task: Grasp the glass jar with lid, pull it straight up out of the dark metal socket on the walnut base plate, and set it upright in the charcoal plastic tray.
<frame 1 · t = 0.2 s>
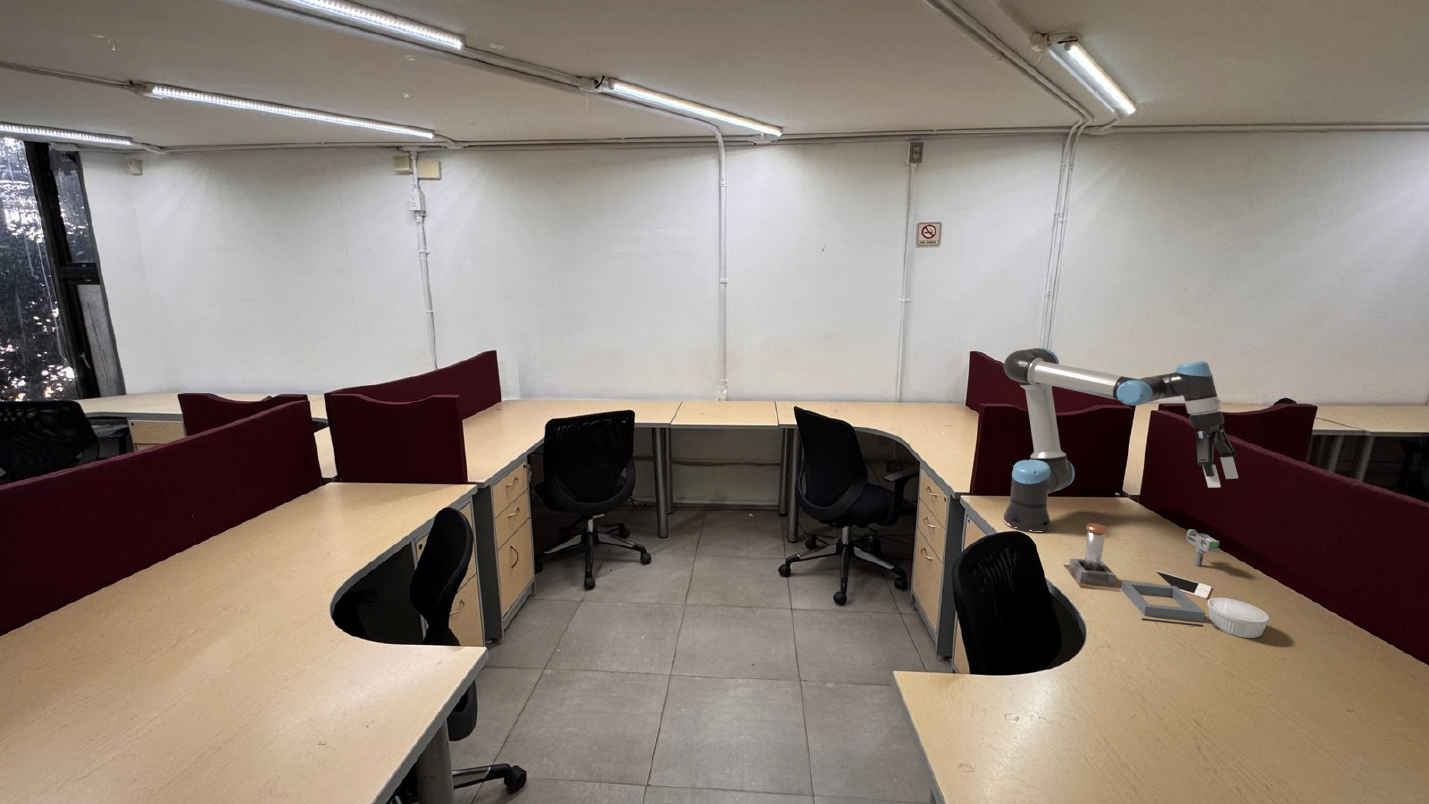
hand: (1223, 482, 160), 28 cm above the table, tool tilted 20°, fingers open, 13 cm apart
mechanical component: (1198, 566, 168), on the table
glass jar with lid: (1090, 577, 159), point 1 cm above the table, touching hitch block
ramekin: (1234, 628, 137), on the table
tray: (1159, 609, 145), on the table
cell phone: (1168, 583, 159), on the table
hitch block: (1090, 582, 160), on the table
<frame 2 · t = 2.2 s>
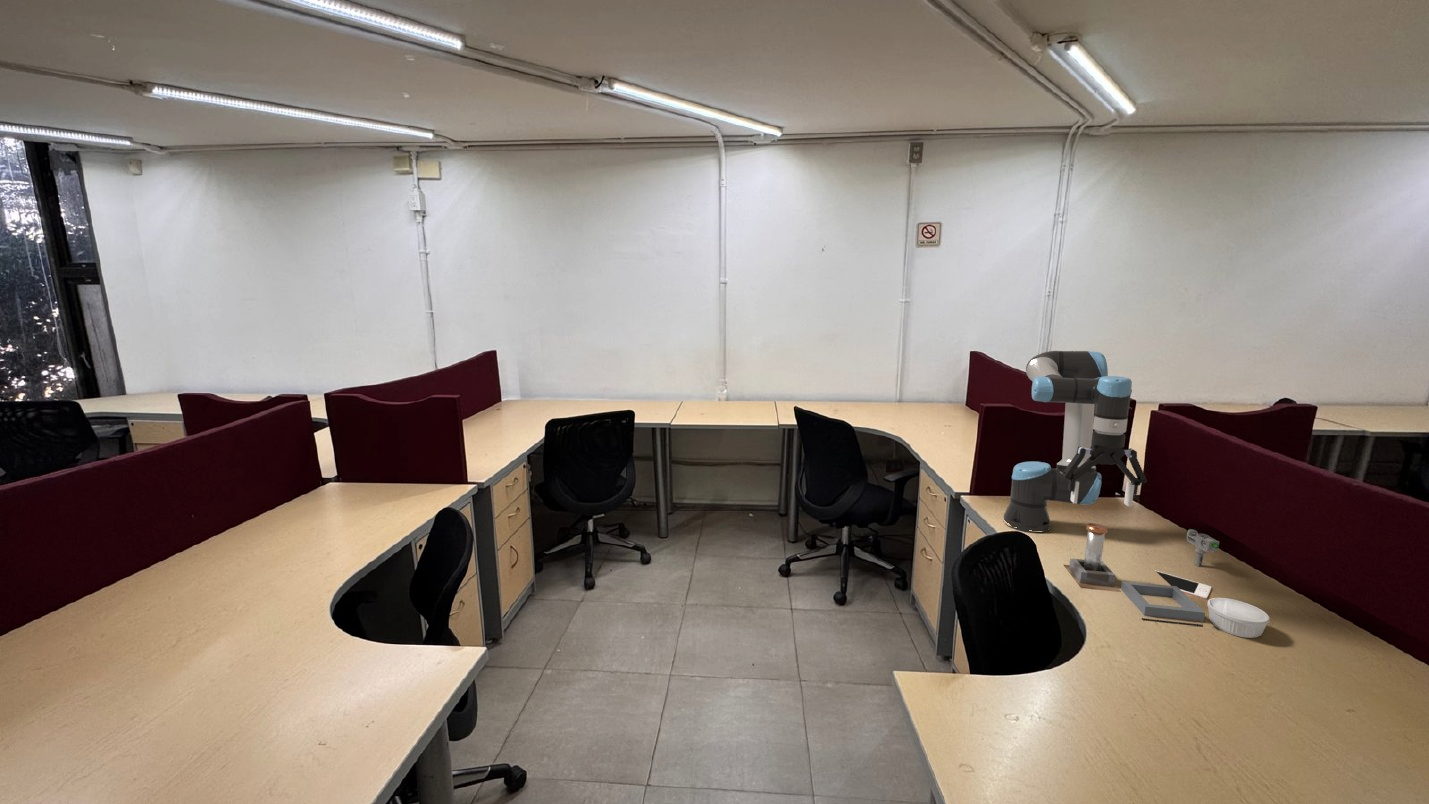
hand: (1100, 503, 155), 25 cm above the table, tool pointing down, fingers open, 13 cm apart
nothing on the table moved.
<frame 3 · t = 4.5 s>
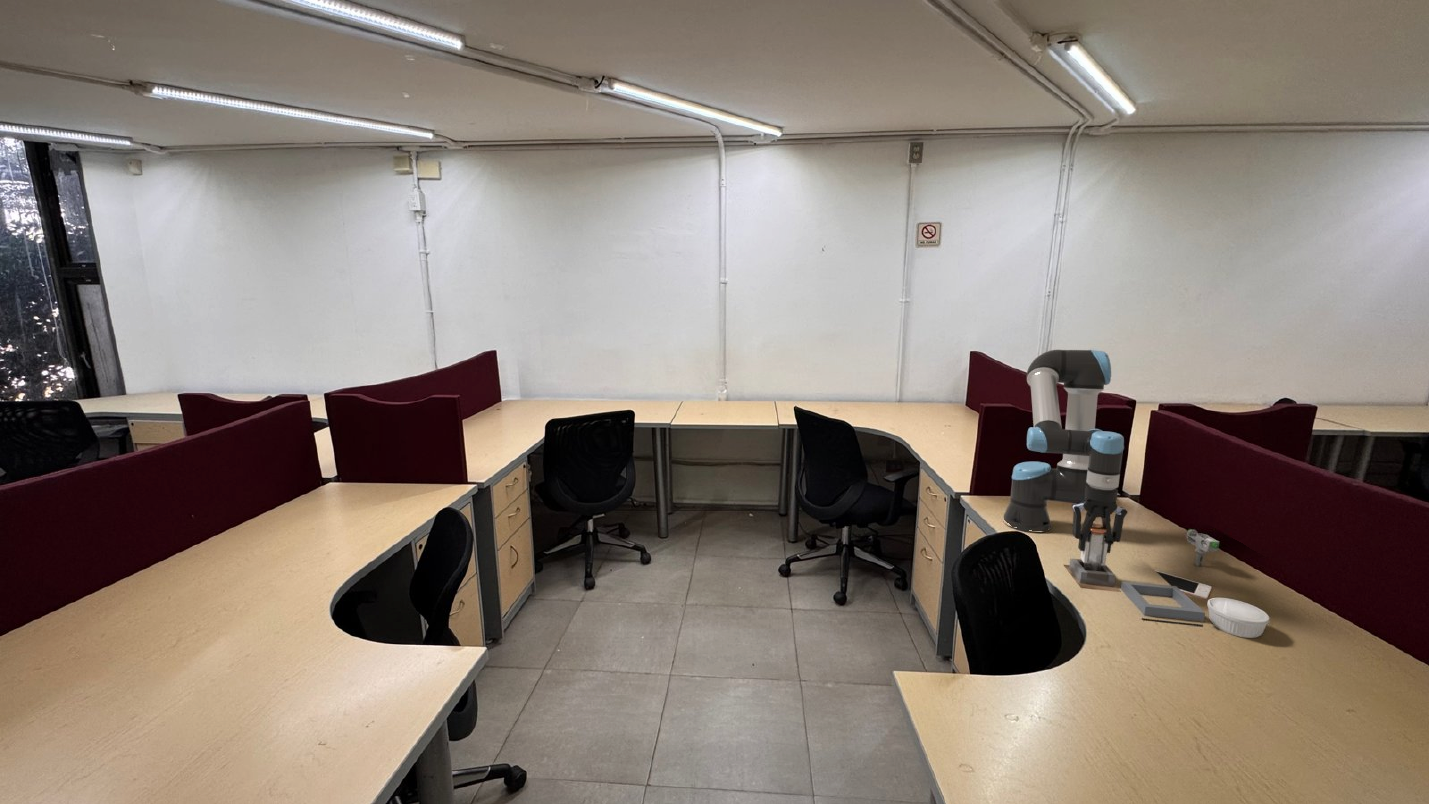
hand: (1092, 561, 158), 7 cm above the table, tool pointing down, fingers closed on glass jar with lid, 4 cm apart
glass jar with lid: (1090, 577, 159), point 2 cm above the table, touching gripper, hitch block
everything else where it was.
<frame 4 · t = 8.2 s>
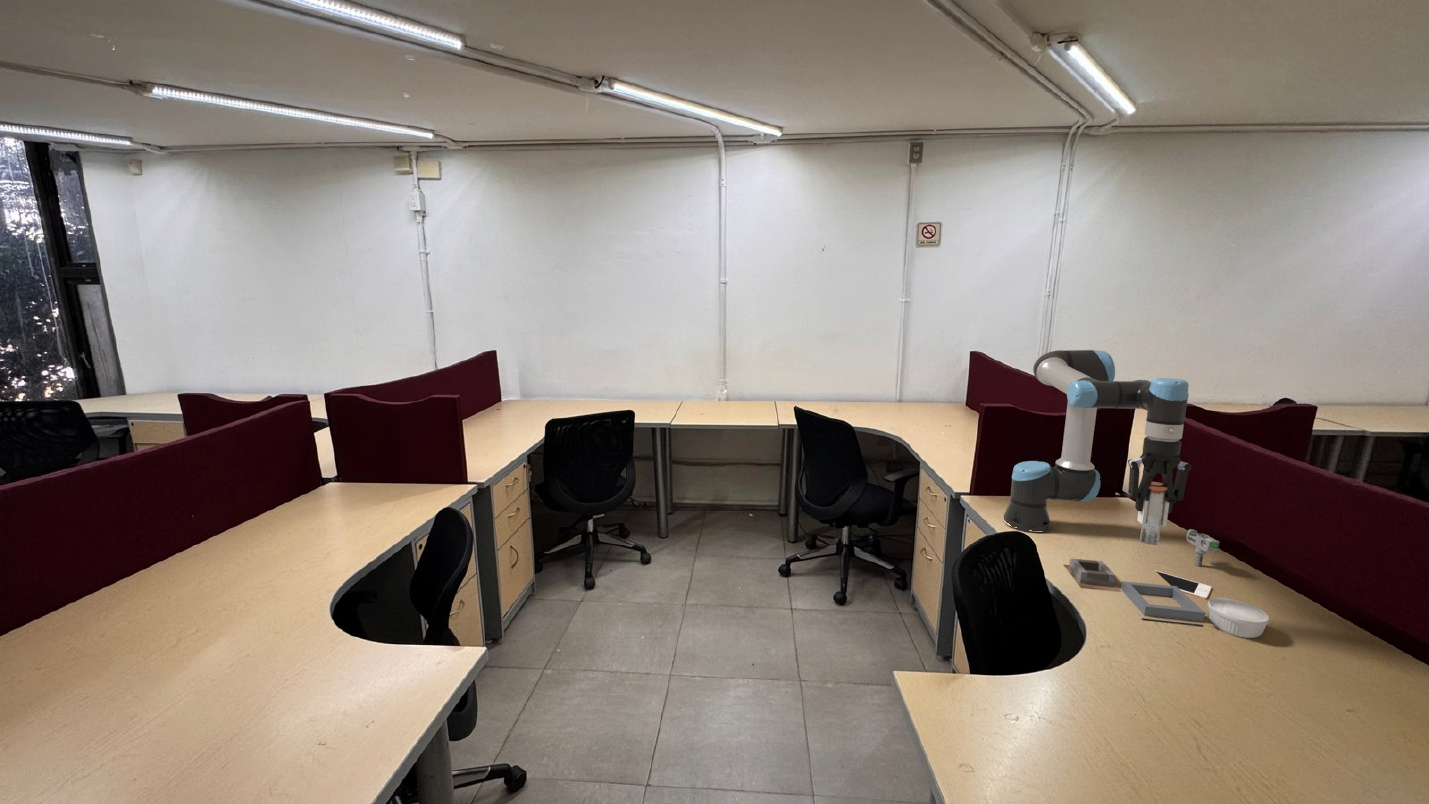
hand: (1151, 523, 144), 23 cm above the table, tool pointing down, fingers closed on glass jar with lid, 4 cm apart
glass jar with lid: (1149, 541, 145), point 18 cm above the table, touching gripper
everything else where it was.
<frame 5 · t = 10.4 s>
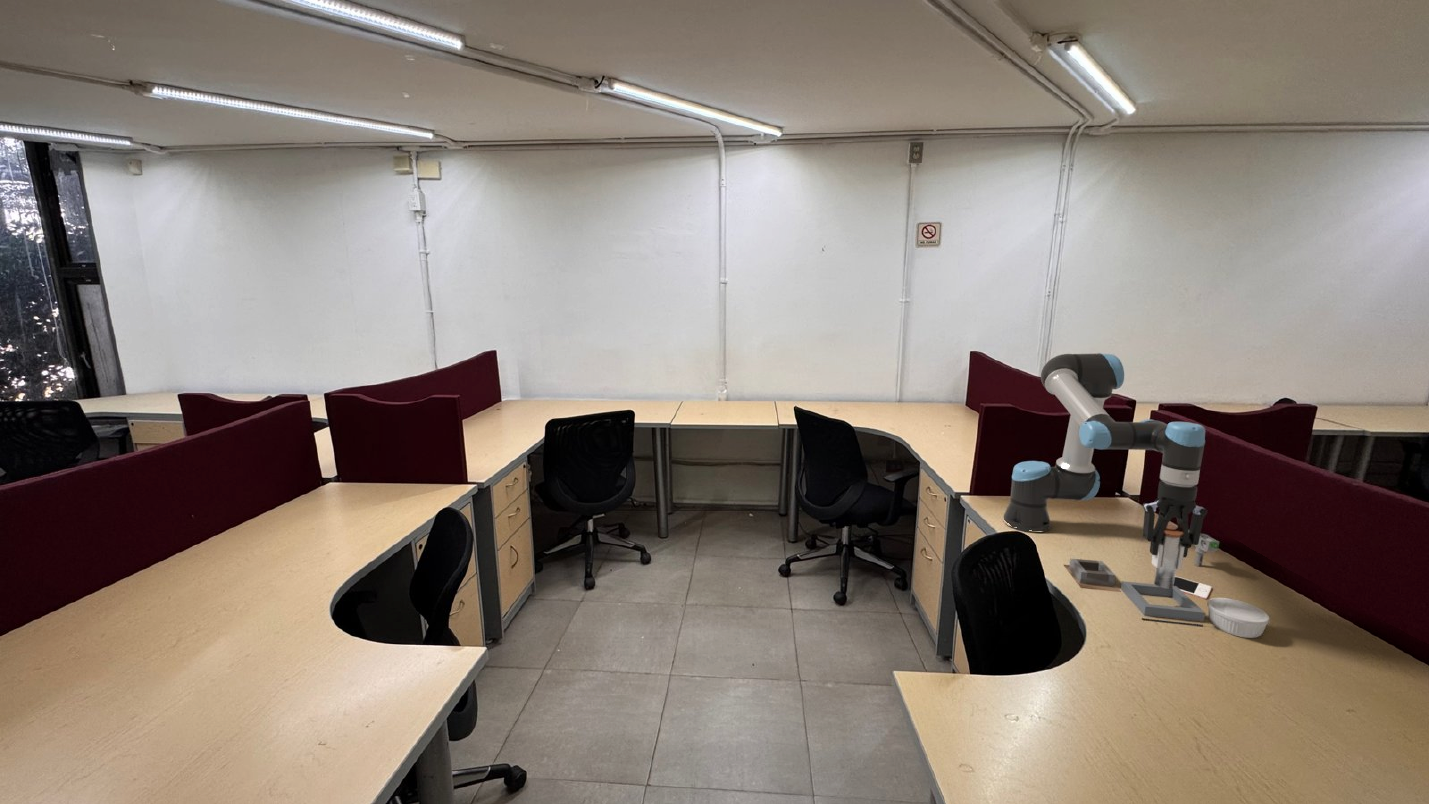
hand: (1166, 566, 143), 13 cm above the table, tool pointing down, fingers closed on glass jar with lid, 4 cm apart
glass jar with lid: (1163, 584, 144), point 7 cm above the table, touching gripper
everything else where it was.
when the fingers open (8 cm above the table, at t = 12.0 s): glass jar with lid stays where it is, resting on tray.
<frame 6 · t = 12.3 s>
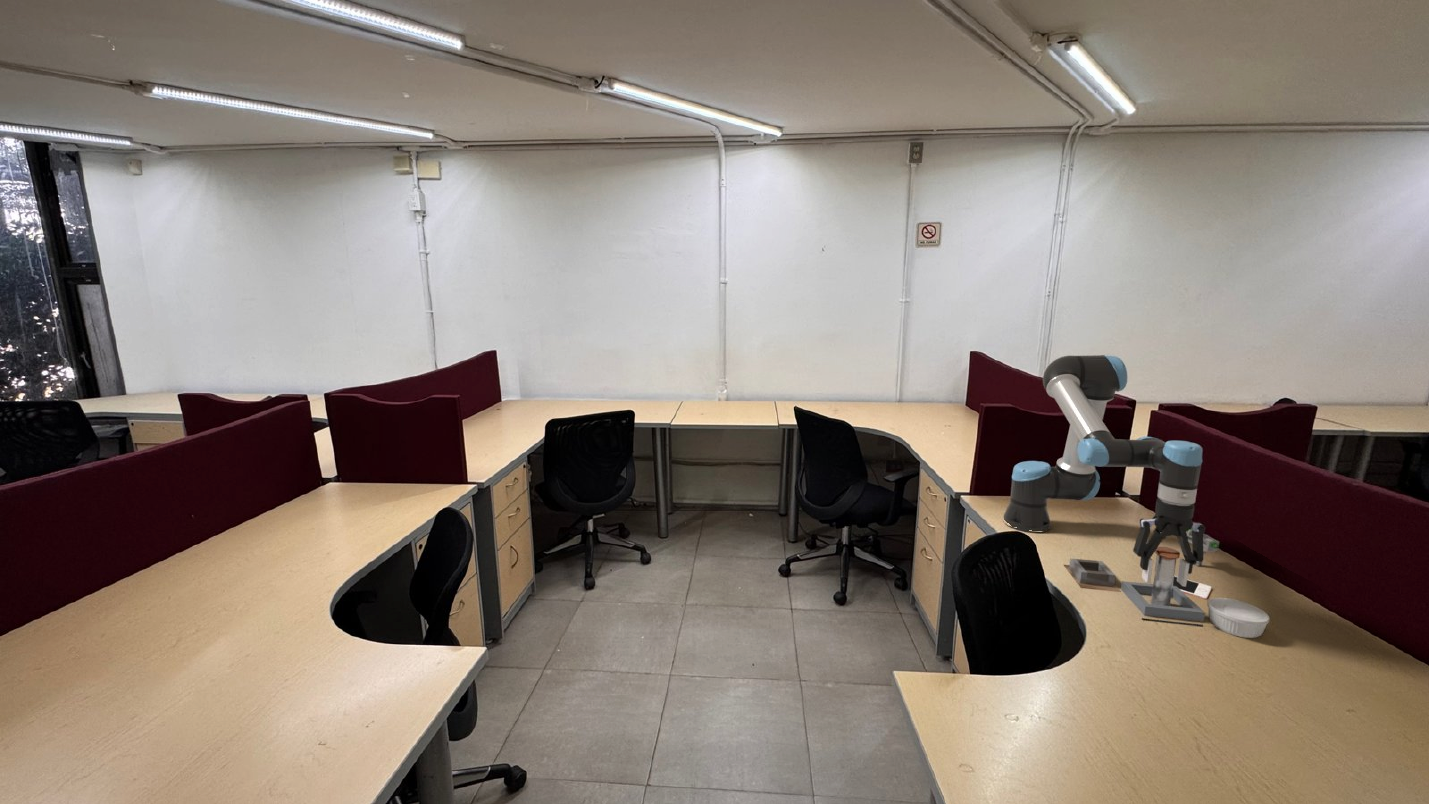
hand: (1163, 582, 144), 8 cm above the table, tool pointing down, fingers open, 7 cm apart
glass jar with lid: (1159, 606, 145), point 1 cm above the table, touching tray
everything else where it was.
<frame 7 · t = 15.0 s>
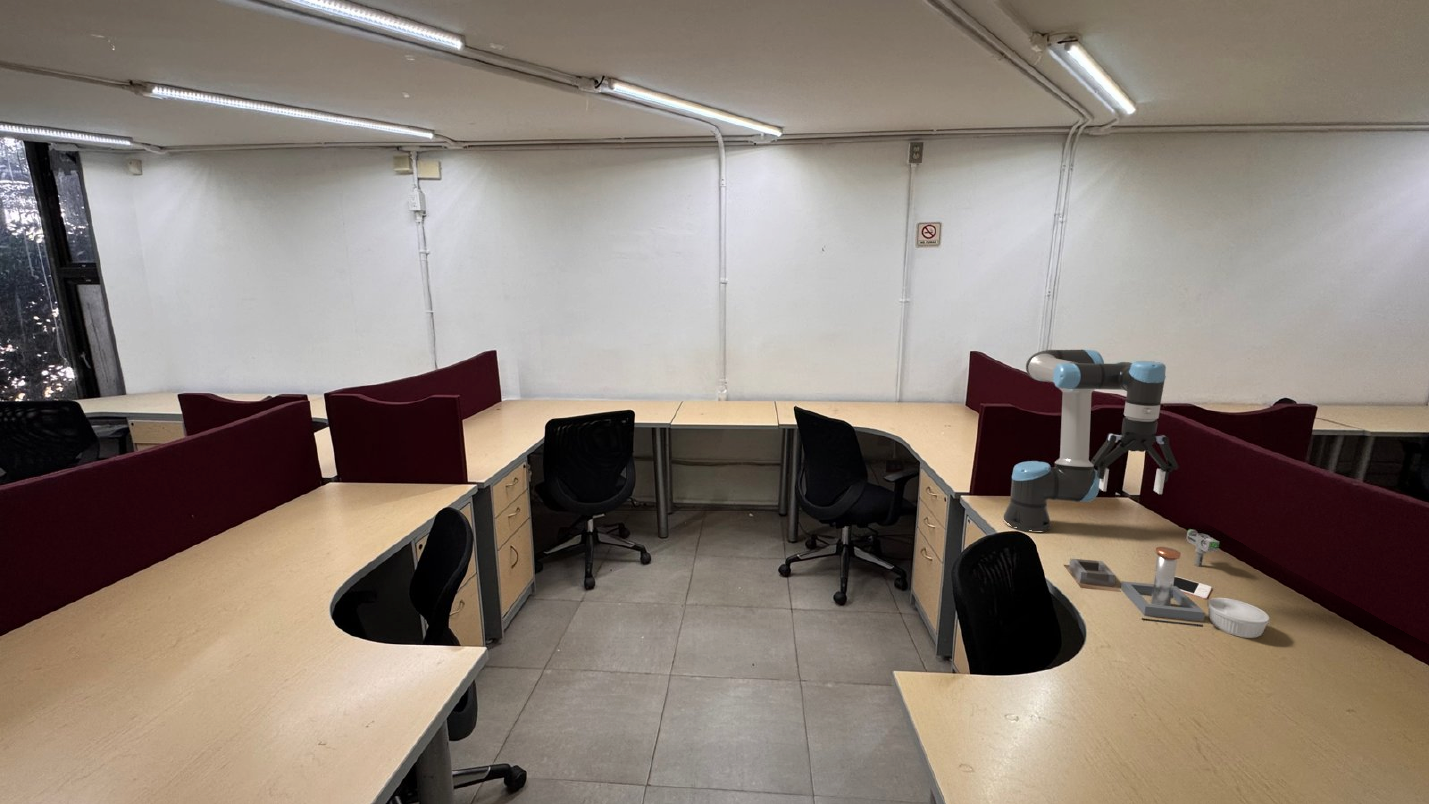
hand: (1129, 491, 152), 29 cm above the table, tool pointing down, fingers open, 13 cm apart
nothing on the table moved.
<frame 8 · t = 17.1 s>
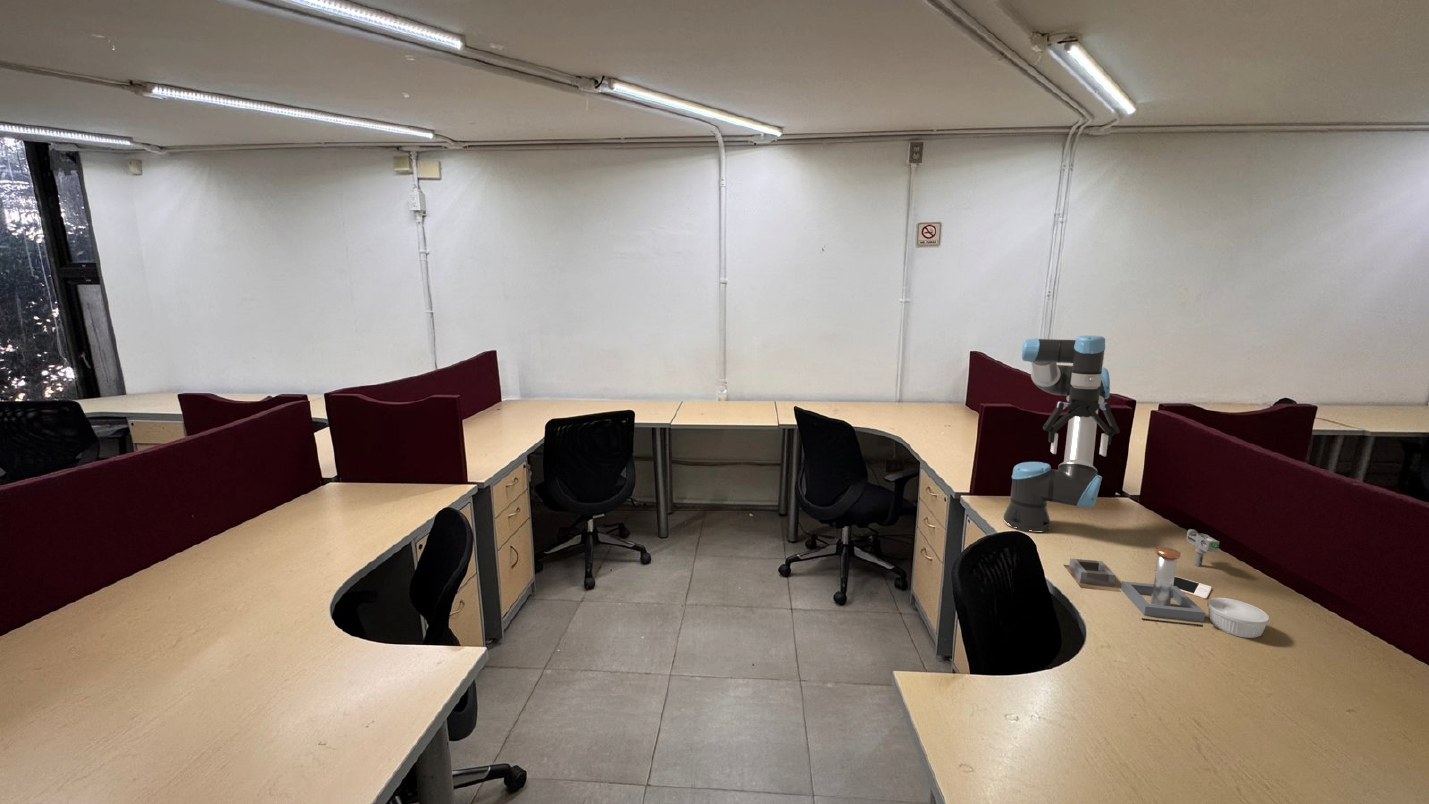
hand: (1077, 454, 169), 35 cm above the table, tool pointing down, fingers open, 13 cm apart
nothing on the table moved.
at the end: glass jar with lid inside the target area on the tray (0.0 cm from its centre), point 1.0 cm above the tray's base; the gripper is holding nothing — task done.
